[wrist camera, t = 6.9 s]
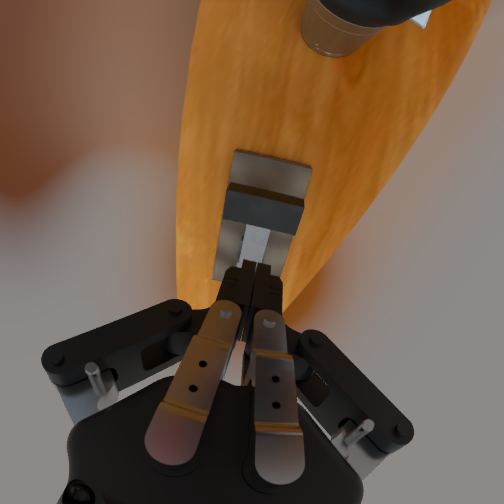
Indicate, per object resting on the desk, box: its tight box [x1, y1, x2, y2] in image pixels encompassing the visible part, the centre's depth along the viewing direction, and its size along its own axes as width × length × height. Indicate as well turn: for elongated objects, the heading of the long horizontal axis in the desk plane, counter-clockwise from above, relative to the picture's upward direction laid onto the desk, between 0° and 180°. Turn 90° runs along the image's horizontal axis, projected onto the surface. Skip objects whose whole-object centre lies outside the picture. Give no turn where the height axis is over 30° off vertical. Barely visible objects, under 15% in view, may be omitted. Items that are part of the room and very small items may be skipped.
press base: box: [212, 149, 312, 282], centre depth 42 cm, size 24×12×11 cm, turn 168°
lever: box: [222, 182, 304, 271], centre depth 39 cm, size 21×9×4 cm, turn 169°
